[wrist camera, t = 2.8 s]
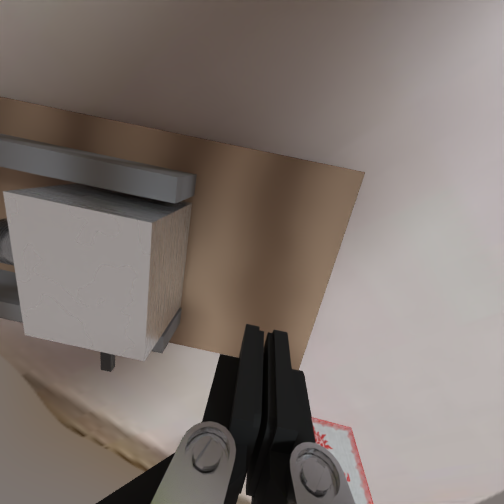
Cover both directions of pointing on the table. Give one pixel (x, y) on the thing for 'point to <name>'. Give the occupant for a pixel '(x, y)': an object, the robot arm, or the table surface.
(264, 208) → the gauge bench
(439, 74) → the table surface
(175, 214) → the slider
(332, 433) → the tea bag
